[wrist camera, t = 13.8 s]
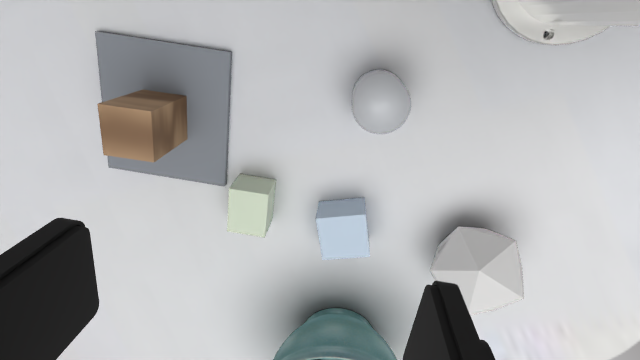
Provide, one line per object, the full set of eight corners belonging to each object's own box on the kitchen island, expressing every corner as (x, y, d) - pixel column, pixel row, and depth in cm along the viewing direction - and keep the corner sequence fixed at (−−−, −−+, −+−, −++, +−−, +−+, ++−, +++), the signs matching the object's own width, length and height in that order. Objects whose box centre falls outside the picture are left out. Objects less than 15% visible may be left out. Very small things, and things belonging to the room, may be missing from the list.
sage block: (240, 173, 40) (229, 188, 37) (276, 179, 40) (268, 194, 36) (238, 213, 42) (227, 231, 39) (272, 218, 42) (264, 237, 38)
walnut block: (142, 89, 37) (97, 103, 30) (186, 95, 37) (151, 111, 30) (145, 132, 38) (103, 154, 32) (187, 139, 38) (154, 162, 32)
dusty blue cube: (319, 200, 41) (315, 218, 37) (364, 196, 40) (365, 214, 36) (325, 239, 43) (322, 259, 39) (368, 236, 42) (370, 256, 38)
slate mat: (99, 31, 35) (95, 31, 35) (231, 51, 35) (229, 52, 35) (111, 165, 41) (108, 167, 40) (226, 184, 41) (224, 186, 40)
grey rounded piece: (357, 65, 35) (357, 71, 31) (409, 73, 35) (417, 80, 30) (348, 117, 37) (347, 129, 33) (398, 125, 37) (403, 138, 32)
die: (434, 202, 40) (409, 286, 35) (527, 207, 35) (513, 307, 30) (452, 244, 46) (433, 322, 41) (535, 253, 40) (525, 345, 35)
